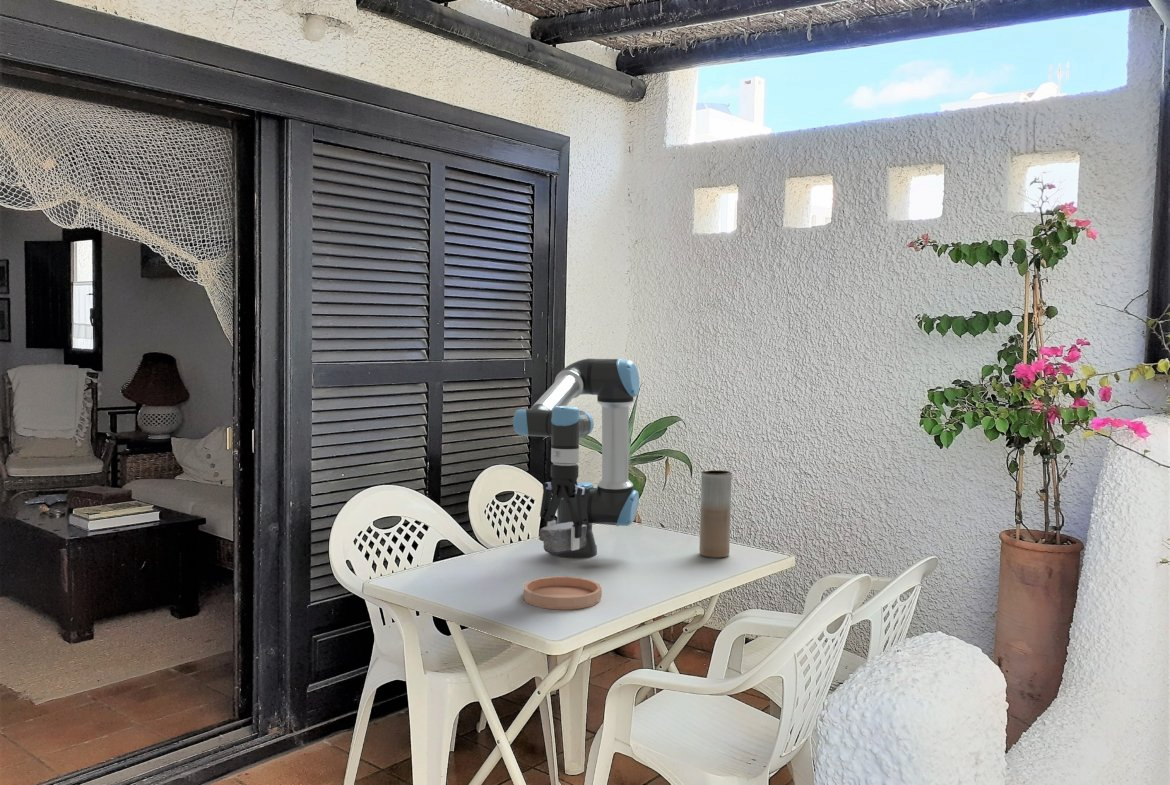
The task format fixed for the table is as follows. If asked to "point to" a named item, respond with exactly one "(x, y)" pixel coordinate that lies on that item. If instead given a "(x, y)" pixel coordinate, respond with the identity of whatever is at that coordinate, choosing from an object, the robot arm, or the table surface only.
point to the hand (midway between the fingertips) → (563, 546)
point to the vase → (715, 513)
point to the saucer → (562, 593)
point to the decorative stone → (560, 537)
